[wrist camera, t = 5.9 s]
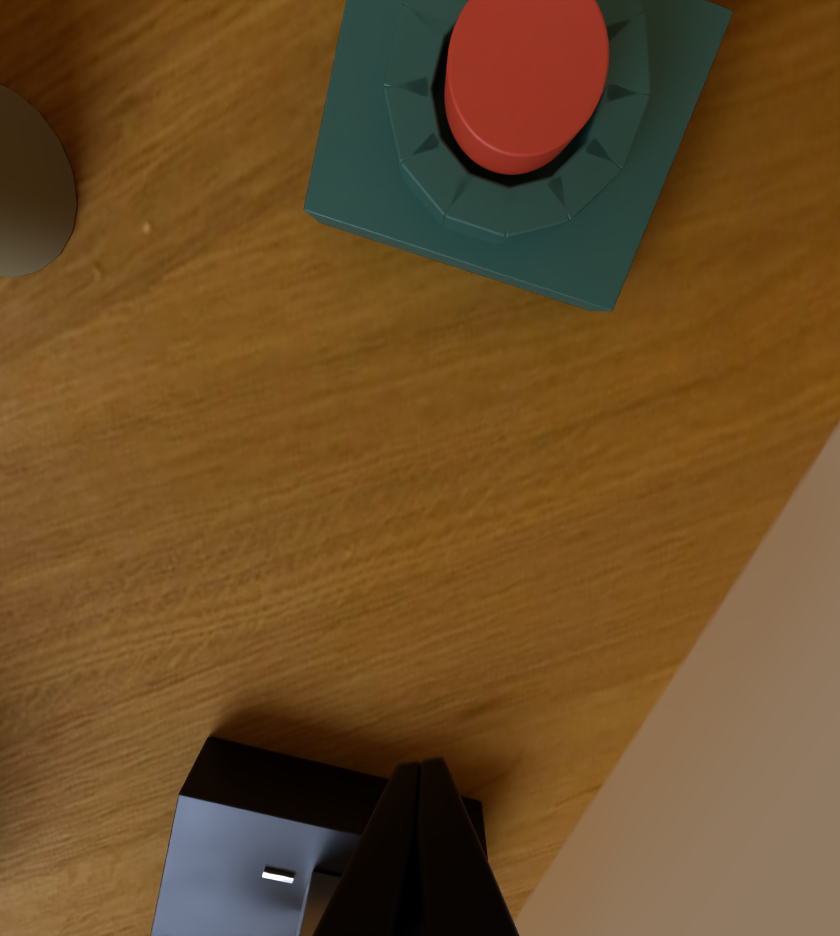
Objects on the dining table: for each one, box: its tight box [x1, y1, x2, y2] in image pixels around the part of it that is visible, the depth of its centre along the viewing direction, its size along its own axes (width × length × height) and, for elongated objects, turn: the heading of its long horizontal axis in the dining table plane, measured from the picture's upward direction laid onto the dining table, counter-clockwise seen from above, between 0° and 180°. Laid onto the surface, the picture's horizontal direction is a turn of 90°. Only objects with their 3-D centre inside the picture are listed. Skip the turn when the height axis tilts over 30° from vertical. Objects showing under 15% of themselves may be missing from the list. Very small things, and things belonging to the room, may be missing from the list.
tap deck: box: [151, 737, 488, 936], centre depth 24 cm, size 14×12×3 cm
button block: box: [304, 0, 733, 311], centre depth 14 cm, size 10×8×4 cm
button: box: [445, 0, 609, 175], centre depth 12 cm, size 4×4×2 cm
